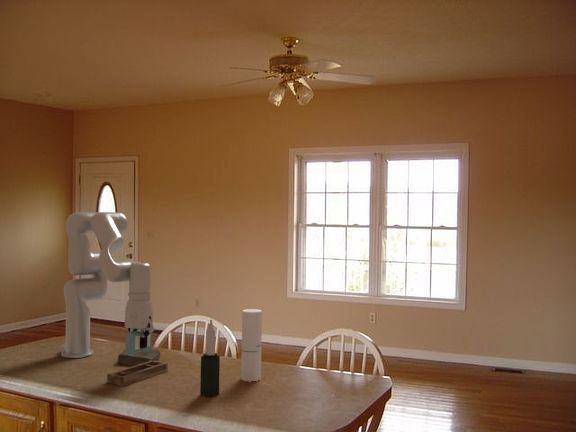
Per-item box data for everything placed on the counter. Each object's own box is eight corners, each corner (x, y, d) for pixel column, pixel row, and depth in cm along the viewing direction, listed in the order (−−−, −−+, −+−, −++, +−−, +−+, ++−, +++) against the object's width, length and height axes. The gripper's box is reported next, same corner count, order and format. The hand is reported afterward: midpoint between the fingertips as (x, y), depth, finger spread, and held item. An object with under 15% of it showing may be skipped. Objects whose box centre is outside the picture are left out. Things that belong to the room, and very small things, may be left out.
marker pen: (210, 398, 185) (212, 321, 185) (198, 395, 188) (200, 319, 187) (220, 393, 189) (221, 319, 189) (208, 391, 192) (210, 317, 192)
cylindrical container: (264, 379, 207) (266, 310, 207) (250, 383, 202) (251, 313, 201) (251, 375, 212) (252, 308, 211) (237, 378, 206) (238, 310, 206)
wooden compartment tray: (107, 382, 199) (107, 373, 199) (150, 367, 218) (151, 360, 218) (124, 386, 195) (124, 377, 195) (167, 371, 214) (167, 363, 214)
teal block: (125, 352, 203) (125, 333, 203) (145, 347, 212) (145, 328, 212) (132, 354, 201) (132, 334, 201) (152, 348, 210) (152, 329, 210)
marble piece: (151, 368, 219) (151, 358, 219) (113, 367, 219) (113, 356, 219) (162, 357, 235) (162, 347, 235) (127, 356, 236) (127, 346, 236)
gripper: (115, 296, 207) (114, 346, 207) (149, 300, 199) (148, 352, 199) (130, 293, 214) (130, 342, 214) (164, 297, 206) (163, 347, 206)
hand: (139, 346), depth 207 cm, fingers closed on teal block, 3 cm apart
